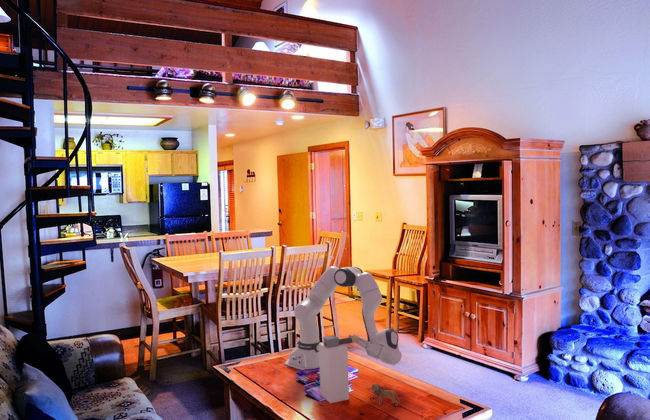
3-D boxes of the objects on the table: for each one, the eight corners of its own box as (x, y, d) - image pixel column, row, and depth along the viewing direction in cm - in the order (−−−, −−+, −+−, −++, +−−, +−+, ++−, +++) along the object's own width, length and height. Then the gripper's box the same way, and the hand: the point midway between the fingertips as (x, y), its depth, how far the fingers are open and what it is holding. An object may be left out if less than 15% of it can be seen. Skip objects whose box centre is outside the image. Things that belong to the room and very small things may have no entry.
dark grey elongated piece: (355, 339, 254) (355, 331, 254) (360, 342, 249) (360, 334, 249) (323, 344, 247) (323, 336, 246) (327, 347, 242) (327, 339, 242)
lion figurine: (370, 404, 238) (370, 385, 237) (372, 399, 243) (372, 381, 242) (401, 407, 234) (400, 388, 233) (402, 402, 239) (402, 384, 238)
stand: (338, 390, 255) (337, 340, 253) (348, 399, 244) (347, 346, 242) (320, 394, 251) (318, 343, 249) (330, 403, 240) (328, 350, 238)
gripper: (367, 337, 266) (346, 327, 260) (387, 348, 247) (365, 338, 242) (362, 348, 265) (341, 338, 259) (381, 360, 246) (359, 350, 241)
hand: (353, 338), depth 250 cm, fingers open, 8 cm apart
